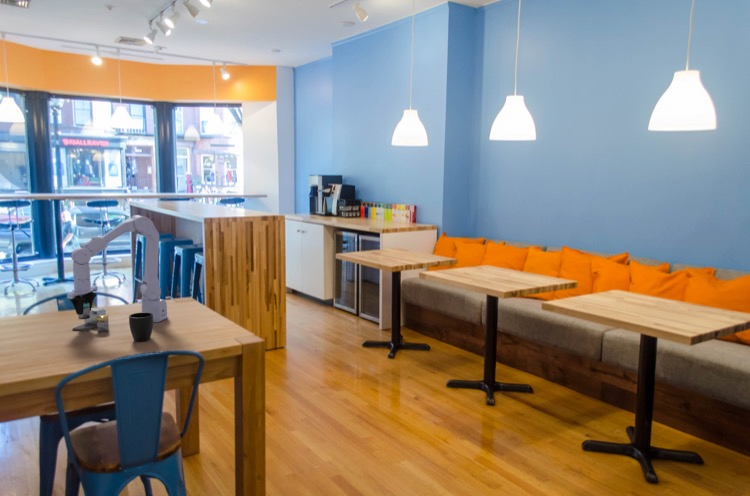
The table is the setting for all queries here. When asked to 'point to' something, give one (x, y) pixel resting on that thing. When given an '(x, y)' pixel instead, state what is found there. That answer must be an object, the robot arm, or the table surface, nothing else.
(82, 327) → the pad
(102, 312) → the control box
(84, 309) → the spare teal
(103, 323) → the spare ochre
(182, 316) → the table surface
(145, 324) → the mug
